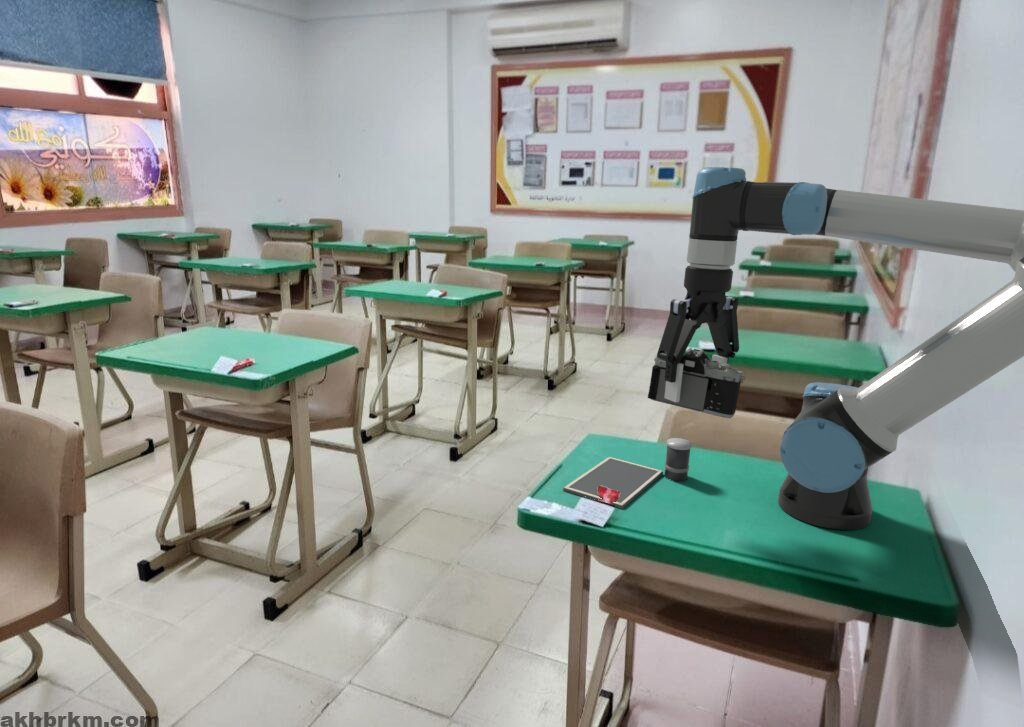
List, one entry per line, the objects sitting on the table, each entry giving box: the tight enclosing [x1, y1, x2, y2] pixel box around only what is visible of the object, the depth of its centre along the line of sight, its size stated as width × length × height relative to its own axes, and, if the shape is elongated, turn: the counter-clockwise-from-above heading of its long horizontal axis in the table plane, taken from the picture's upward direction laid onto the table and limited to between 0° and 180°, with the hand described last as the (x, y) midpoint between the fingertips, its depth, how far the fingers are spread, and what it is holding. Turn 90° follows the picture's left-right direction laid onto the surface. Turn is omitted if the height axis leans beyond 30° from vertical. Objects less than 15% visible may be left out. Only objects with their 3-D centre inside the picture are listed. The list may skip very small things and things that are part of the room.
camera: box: [647, 347, 746, 419], centre depth 110 cm, size 16×9×10 cm, turn 58°
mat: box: [562, 456, 664, 510], centre depth 125 cm, size 12×19×1 cm, turn 146°
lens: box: [664, 437, 693, 482], centre depth 128 cm, size 5×5×7 cm
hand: (694, 396), depth 112 cm, fingers closed on camera, 10 cm apart
